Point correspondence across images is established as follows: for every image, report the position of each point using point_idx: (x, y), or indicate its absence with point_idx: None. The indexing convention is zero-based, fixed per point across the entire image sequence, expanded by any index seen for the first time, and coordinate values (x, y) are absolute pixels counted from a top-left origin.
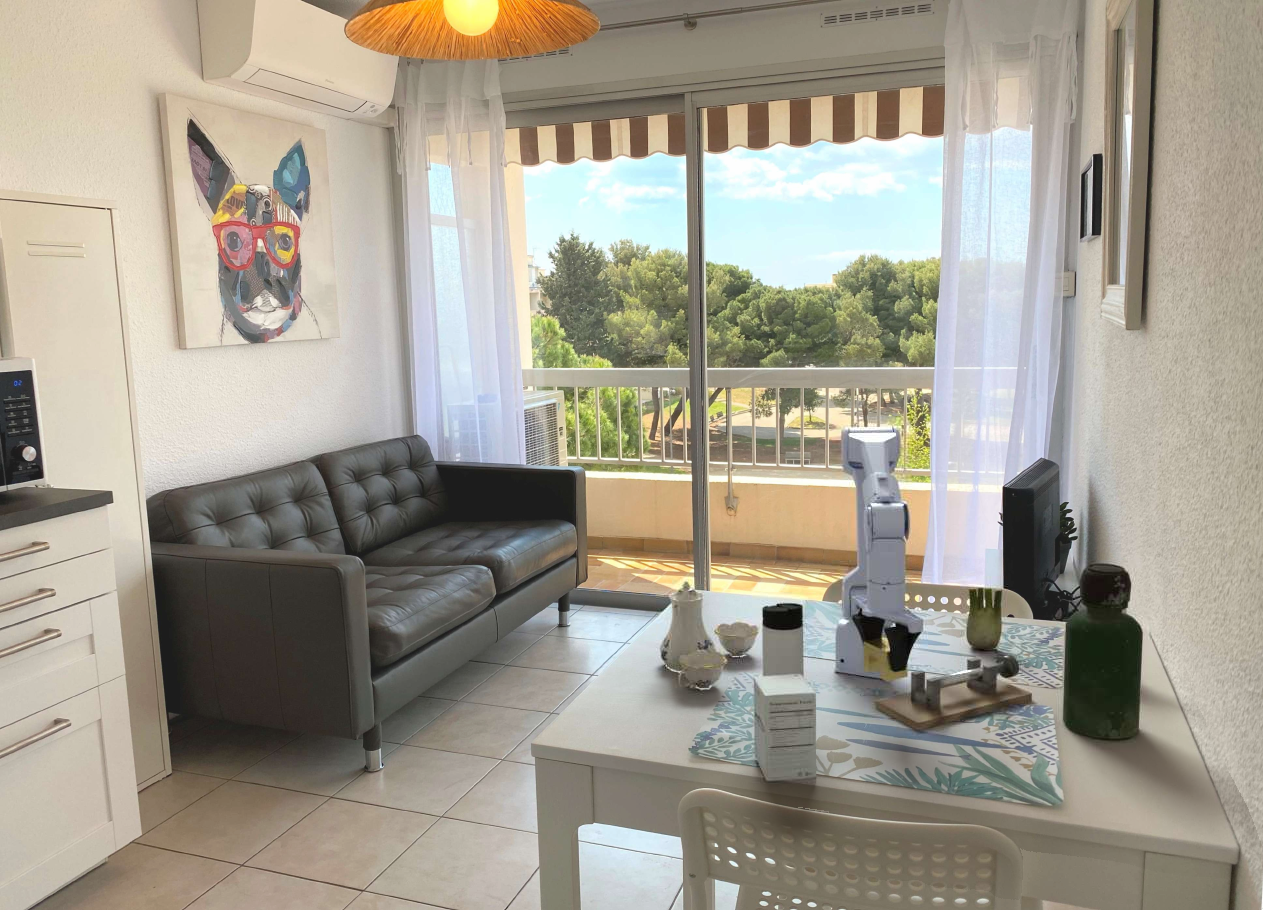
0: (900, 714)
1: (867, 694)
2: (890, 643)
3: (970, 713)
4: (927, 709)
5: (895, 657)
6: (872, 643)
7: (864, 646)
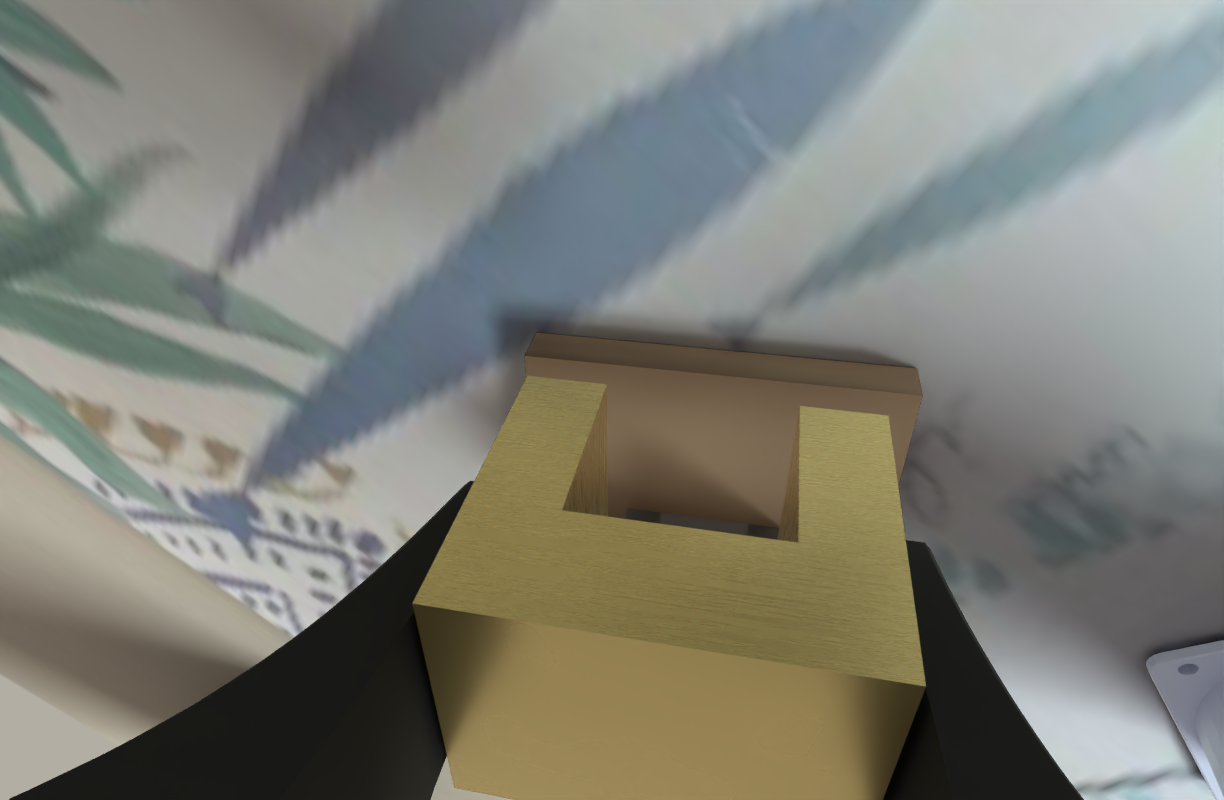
0: (675, 368)
1: (1099, 467)
2: (296, 716)
3: None
4: (643, 505)
5: (359, 585)
6: (775, 694)
7: (897, 623)
